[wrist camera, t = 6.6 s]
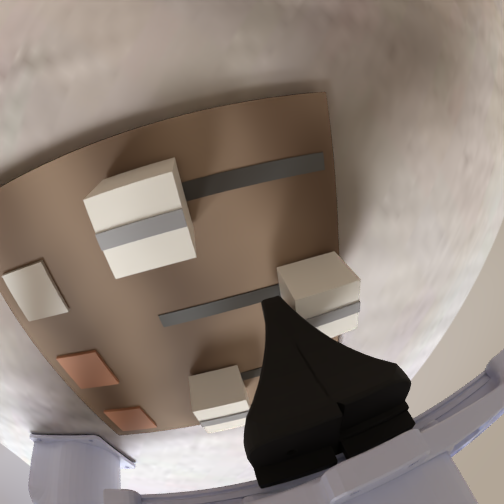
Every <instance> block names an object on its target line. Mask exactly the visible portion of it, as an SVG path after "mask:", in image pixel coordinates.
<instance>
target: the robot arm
mask: <svg viewBox="0 0 504 504" xmlns="http://www.w3.org/2000/svg"><path fill="white" fill-rule="evenodd" d="M261 306H262V310H263V315H264V320H265V349H264V357H263V364H262V369H261V374H260V378H259V382H258V386H257V389H256V392H255V395H254V398H253V401H252V404H251V406H250V409H249V411H248V414H247V416H246V422H245V429H244V448H245V452H246V455H247V459H248V460H249V462H250V463H251V465H252V466H253V468H254V471H255V475H256V478H257V480H254V481H249V482H245V483H240V484H235V485H229V486H224V487H218V488H212V489H205V490H197V491H189V492H179V493H167V494H147V495H140V494H139V493H138V492H136V491H133V490H128V489H121V487H120V469H130V468H135V464H134V463H133V462H131V461H130V460H128V459H127V458H126V457H124V456H123V455H122V454H120V453H119V452H118V451H116V450H115V449H114V448H113V447H111V446H110V445H109V444H107V443H106V442H105V441H104V440H103V439H101V438H100V437H99V436H96V435H34V434H31V435H30V439H31V440H32V441H34V447H33V453H32V459H31V466H30V474H29V484H28V487H29V493H30V497H31V499H32V502H33V503H34V504H478V502H477V500H476V499H475V497H474V495H473V493H472V492H471V490H470V488H469V487H468V485H467V483H466V481H465V480H464V478H463V476H462V475H461V473H460V471H459V470H458V468H457V466H456V465H455V463H454V461H453V460H452V458H451V457H452V456H454V455H455V454H456V453H458V452H459V451H460V450H462V449H463V448H464V447H465V446H467V445H468V444H469V443H471V442H472V441H473V440H474V439H475V438H477V437H478V436H479V435H480V434H481V433H482V432H484V430H486V429H487V428H488V427H489V426H490V425H491V424H493V422H495V421H496V420H497V419H498V418H499V417H500V416H501V415H502V414H503V413H504V349H503V350H502V351H500V353H498V354H497V355H496V356H494V357H493V358H492V359H491V360H490V362H489V363H488V364H487V366H486V368H485V371H483V372H482V373H481V374H479V375H478V376H477V377H476V378H474V379H473V380H472V381H470V382H469V383H467V384H466V385H465V386H464V387H462V388H460V389H459V390H458V391H456V392H455V393H453V394H452V395H451V396H449V397H447V398H446V399H444V400H443V401H441V402H440V403H438V404H437V405H435V406H433V407H432V408H430V409H429V410H427V411H425V412H424V413H422V414H420V415H418V416H417V417H415V418H412V417H411V415H410V414H409V412H408V408H409V407H408V405H407V403H406V402H405V399H406V397H407V395H408V392H409V390H410V386H411V381H410V379H409V378H408V376H407V375H406V374H405V372H404V371H403V370H402V369H401V368H400V367H399V366H398V365H397V364H396V363H392V362H388V361H384V360H380V359H377V358H374V357H371V356H368V355H365V354H363V353H360V352H358V351H356V350H353V349H351V348H349V347H347V346H345V345H343V344H341V343H339V342H337V341H336V340H334V339H332V338H330V337H329V336H327V335H326V334H324V333H323V332H321V331H320V330H318V329H317V328H315V327H314V326H313V325H311V324H310V323H309V322H308V321H306V320H305V319H304V318H303V317H301V316H300V315H299V314H298V313H297V312H296V311H295V310H294V309H292V308H291V307H290V306H289V305H288V304H287V303H286V302H285V301H284V300H283V298H282V297H280V296H279V295H278V296H275V297H271V298H268V299H264V300H262V302H261Z"/></svg>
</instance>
